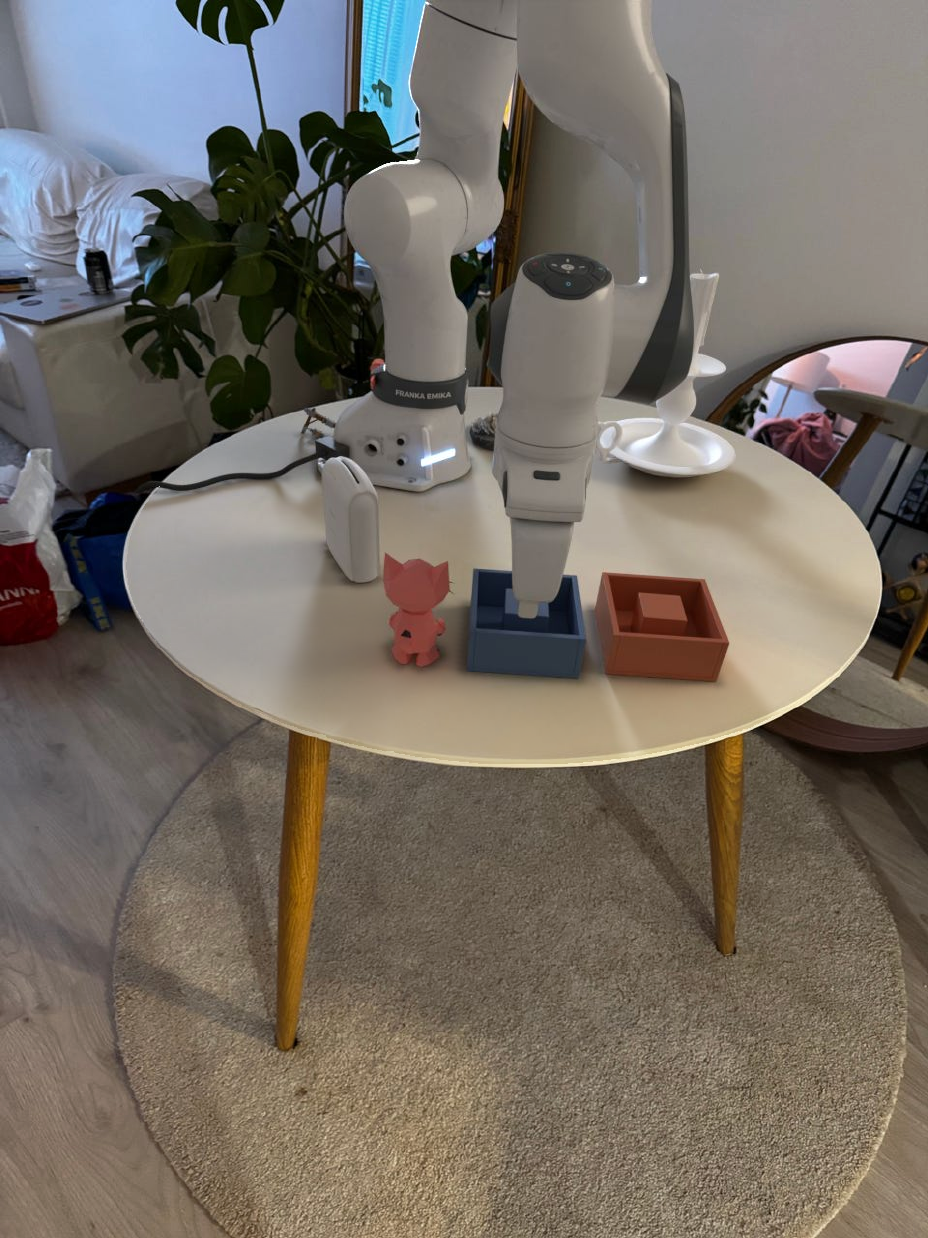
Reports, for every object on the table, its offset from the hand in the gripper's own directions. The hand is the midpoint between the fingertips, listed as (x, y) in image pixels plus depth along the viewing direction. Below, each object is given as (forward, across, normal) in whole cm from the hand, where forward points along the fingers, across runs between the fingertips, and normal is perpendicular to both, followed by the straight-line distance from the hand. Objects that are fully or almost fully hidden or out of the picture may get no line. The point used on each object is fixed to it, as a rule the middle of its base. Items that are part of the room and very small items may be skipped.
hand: (525, 585), depth 76 cm
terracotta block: (+6, -1, +14) cm, 16 cm away
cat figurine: (+7, +4, -11) cm, 13 cm away
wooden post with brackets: (+7, -48, -29) cm, 57 cm away
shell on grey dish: (+7, -53, -2) cm, 54 cm away
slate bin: (+7, 0, 0) cm, 7 cm away
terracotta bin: (+7, -1, +14) cm, 16 cm away
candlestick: (+7, -46, +21) cm, 51 cm away
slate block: (+6, 0, 0) cm, 6 cm away
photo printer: (+7, -13, -20) cm, 25 cm away
